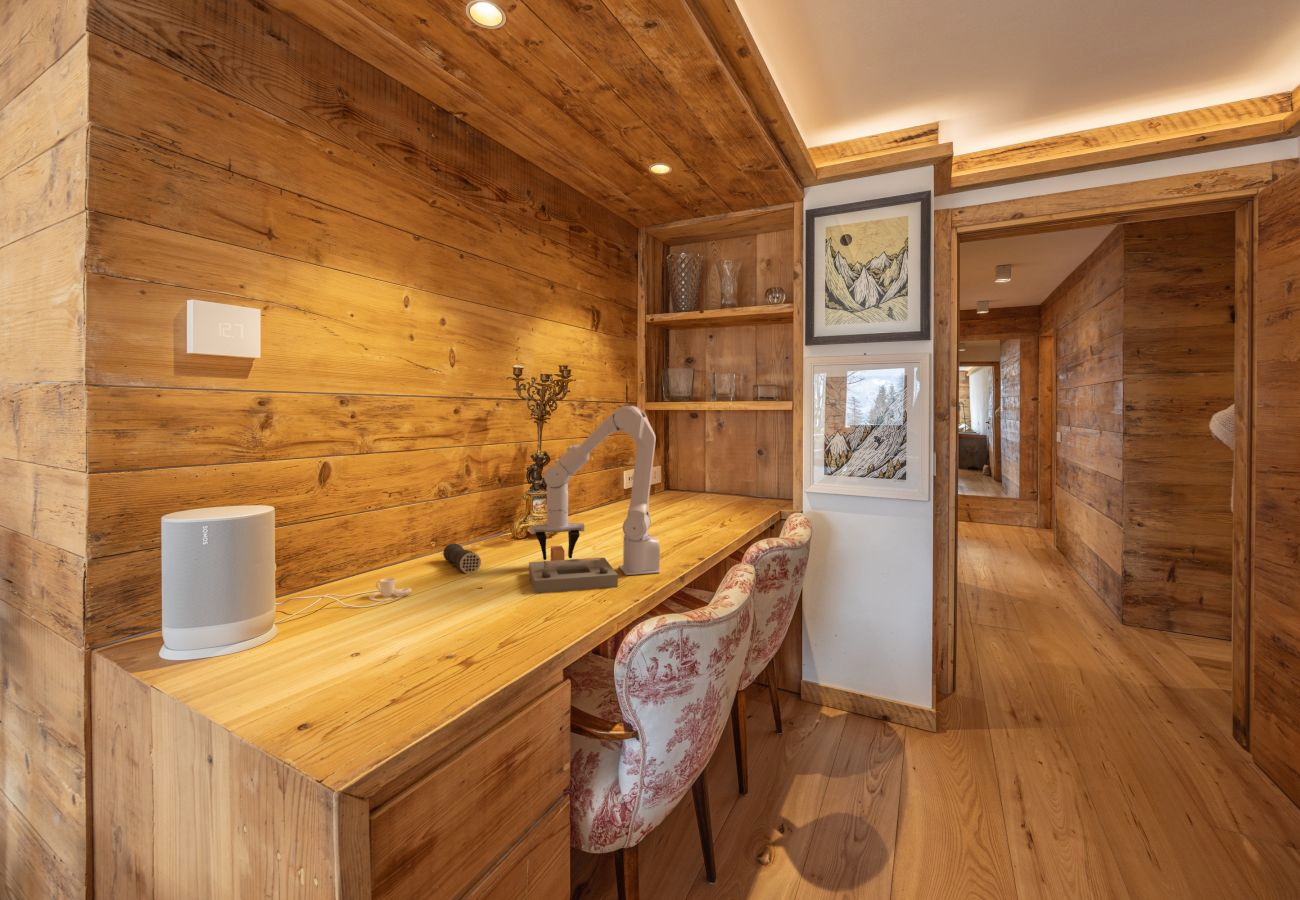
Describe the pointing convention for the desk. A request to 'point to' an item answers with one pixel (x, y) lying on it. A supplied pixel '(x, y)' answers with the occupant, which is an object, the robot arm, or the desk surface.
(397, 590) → the teacup and saucer
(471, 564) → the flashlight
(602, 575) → the grey slotted tray
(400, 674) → the desk surface
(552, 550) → the orange rectangular block
